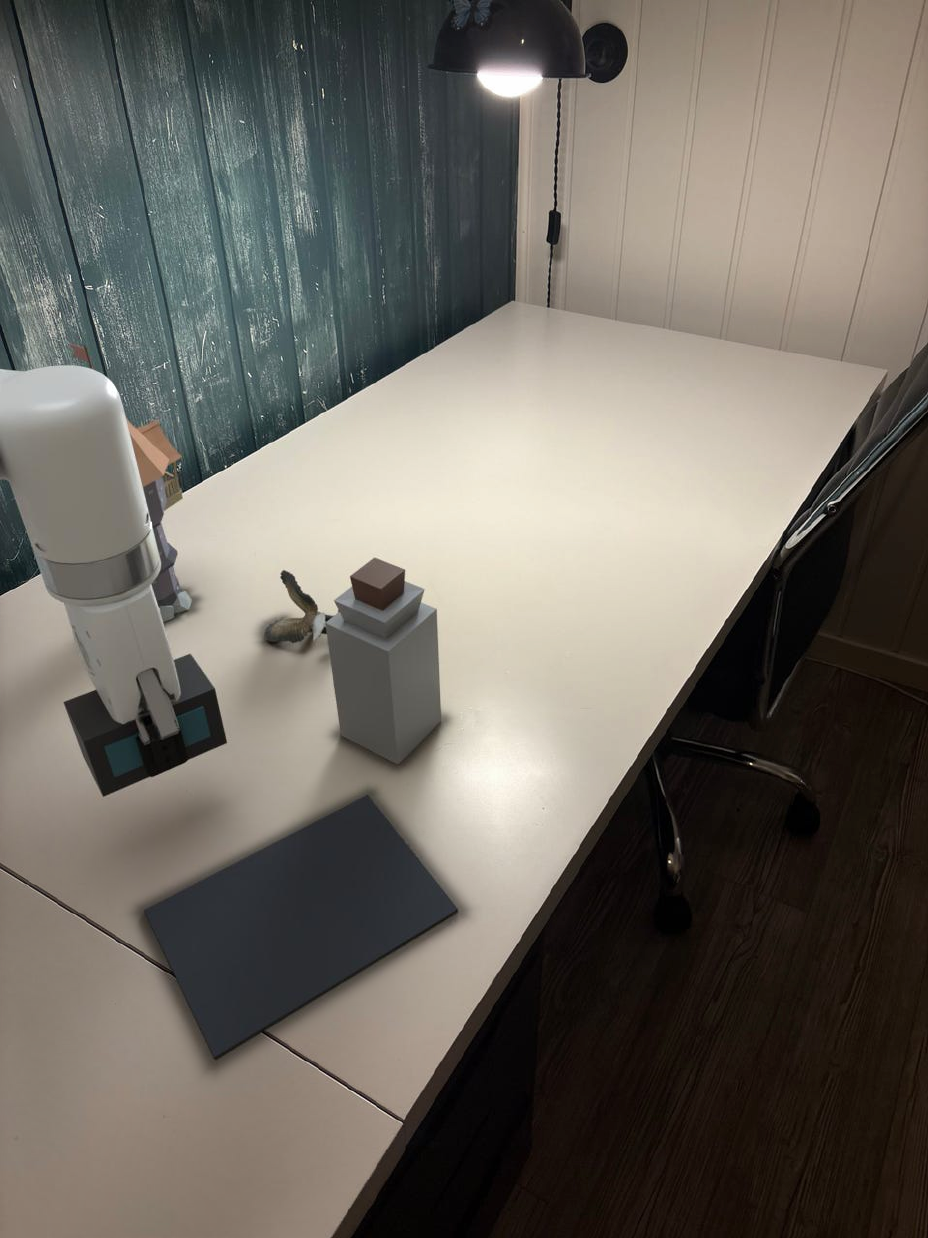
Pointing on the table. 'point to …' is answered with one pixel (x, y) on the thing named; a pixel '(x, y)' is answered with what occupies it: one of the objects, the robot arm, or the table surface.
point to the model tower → (156, 502)
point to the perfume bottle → (385, 662)
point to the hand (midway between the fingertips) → (154, 742)
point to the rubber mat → (294, 921)
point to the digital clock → (115, 743)
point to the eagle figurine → (297, 627)
